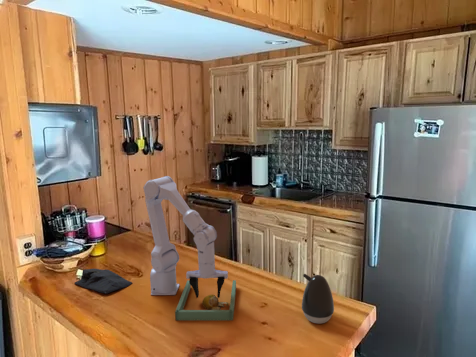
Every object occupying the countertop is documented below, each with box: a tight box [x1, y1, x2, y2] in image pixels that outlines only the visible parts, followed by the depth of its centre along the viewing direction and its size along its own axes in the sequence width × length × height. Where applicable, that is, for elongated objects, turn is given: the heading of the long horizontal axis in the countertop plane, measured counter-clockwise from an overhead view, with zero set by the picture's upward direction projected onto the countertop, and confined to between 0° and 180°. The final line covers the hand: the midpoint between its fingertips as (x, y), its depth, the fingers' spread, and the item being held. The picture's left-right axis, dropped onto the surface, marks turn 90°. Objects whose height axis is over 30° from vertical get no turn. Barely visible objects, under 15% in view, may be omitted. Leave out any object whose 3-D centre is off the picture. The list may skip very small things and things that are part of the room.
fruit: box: [201, 294, 229, 310], centre depth 124 cm, size 8×8×4 cm
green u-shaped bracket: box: [174, 279, 237, 321], centre depth 127 cm, size 19×22×3 cm
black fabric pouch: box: [74, 268, 133, 294], centre depth 143 cm, size 15×22×5 cm
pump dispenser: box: [301, 273, 335, 325], centre depth 114 cm, size 10×10×15 cm
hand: (208, 296), depth 126 cm, fingers open, 7 cm apart
